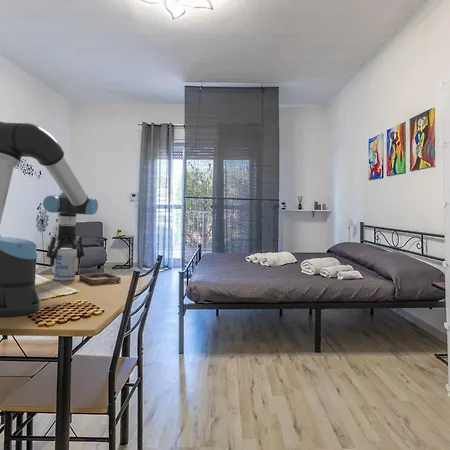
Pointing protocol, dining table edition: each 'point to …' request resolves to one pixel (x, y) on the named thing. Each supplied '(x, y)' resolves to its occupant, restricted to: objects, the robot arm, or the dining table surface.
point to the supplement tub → (65, 264)
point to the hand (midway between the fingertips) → (64, 271)
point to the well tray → (99, 278)
